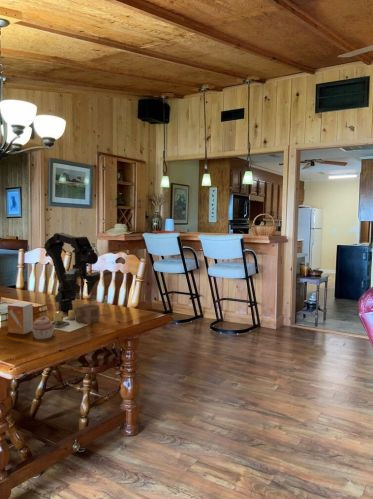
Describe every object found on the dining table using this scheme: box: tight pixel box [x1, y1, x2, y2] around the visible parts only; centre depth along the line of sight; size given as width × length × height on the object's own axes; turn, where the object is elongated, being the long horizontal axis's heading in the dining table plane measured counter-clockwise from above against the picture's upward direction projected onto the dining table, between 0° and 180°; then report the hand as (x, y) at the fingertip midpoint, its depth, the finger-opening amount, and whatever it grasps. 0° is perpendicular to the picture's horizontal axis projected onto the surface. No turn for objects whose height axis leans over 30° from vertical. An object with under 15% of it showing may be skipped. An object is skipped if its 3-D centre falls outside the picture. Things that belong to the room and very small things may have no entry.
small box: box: [7, 301, 34, 335], centre depth 176 cm, size 8×6×13 cm
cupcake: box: [31, 315, 55, 340], centre depth 169 cm, size 9×9×10 cm
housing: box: [75, 303, 100, 325], centre depth 191 cm, size 8×7×7 cm
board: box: [51, 309, 98, 333], centre depth 189 cm, size 18×20×5 cm
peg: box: [53, 310, 64, 326], centre depth 185 cm, size 4×4×6 cm
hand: (81, 294), depth 201 cm, fingers open, 9 cm apart
